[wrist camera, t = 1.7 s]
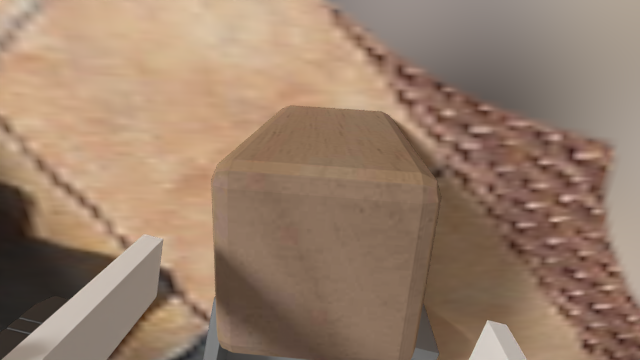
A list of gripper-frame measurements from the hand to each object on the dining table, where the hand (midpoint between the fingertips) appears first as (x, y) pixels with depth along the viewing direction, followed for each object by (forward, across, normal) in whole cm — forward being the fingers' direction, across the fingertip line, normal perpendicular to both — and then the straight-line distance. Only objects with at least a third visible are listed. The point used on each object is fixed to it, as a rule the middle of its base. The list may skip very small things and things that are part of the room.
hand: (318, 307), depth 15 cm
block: (+22, 0, 0) cm, 22 cm away
